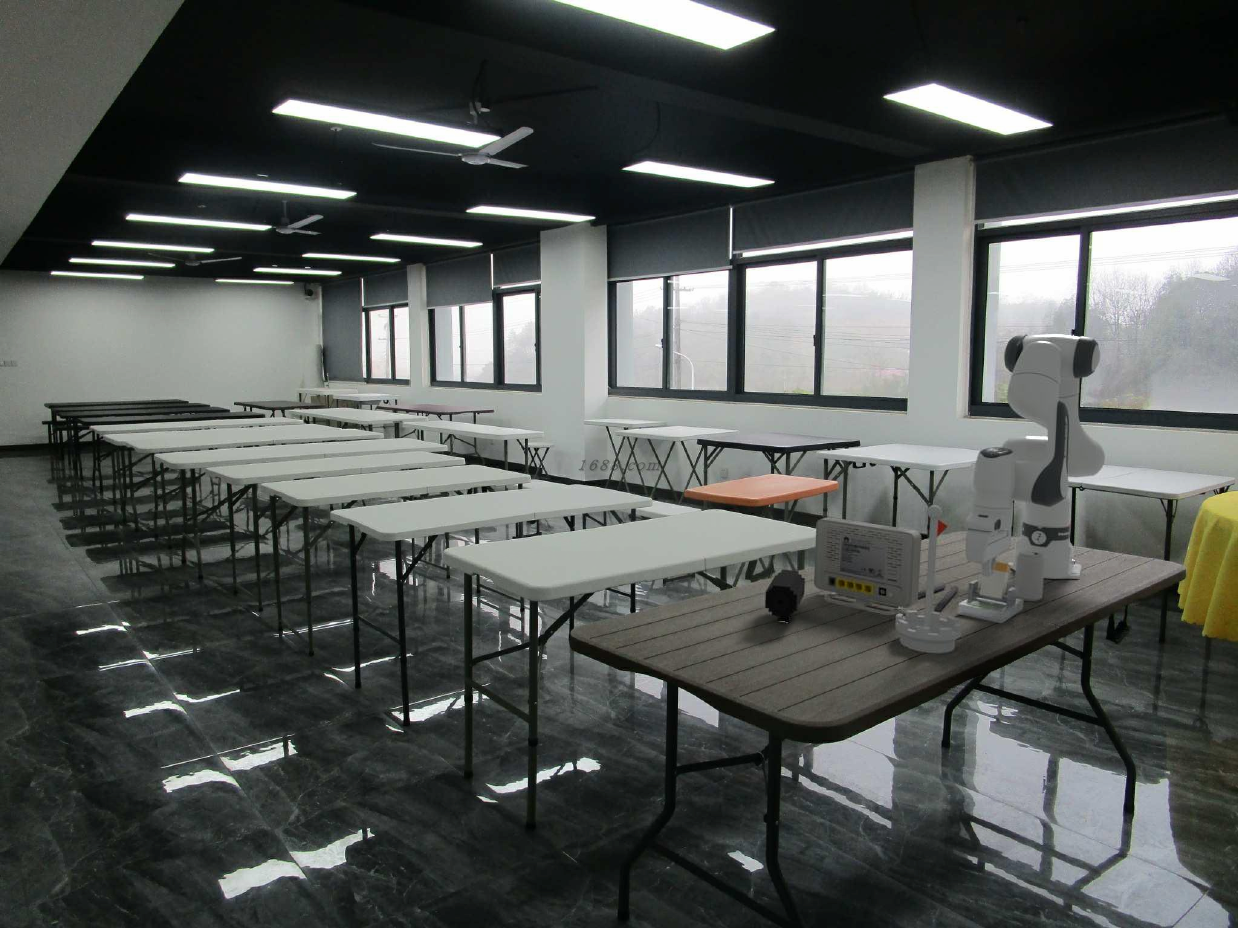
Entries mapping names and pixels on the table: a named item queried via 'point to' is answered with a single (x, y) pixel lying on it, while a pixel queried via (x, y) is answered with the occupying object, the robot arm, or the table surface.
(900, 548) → the network device
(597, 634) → the table surface
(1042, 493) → the robot arm
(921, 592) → the cord
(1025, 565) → the beverage can
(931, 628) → the flag stand
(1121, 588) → the table surface
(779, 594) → the security camera
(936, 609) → the dark grey rod
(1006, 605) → the breaker panel
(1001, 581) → the breaker lever
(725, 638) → the table surface
